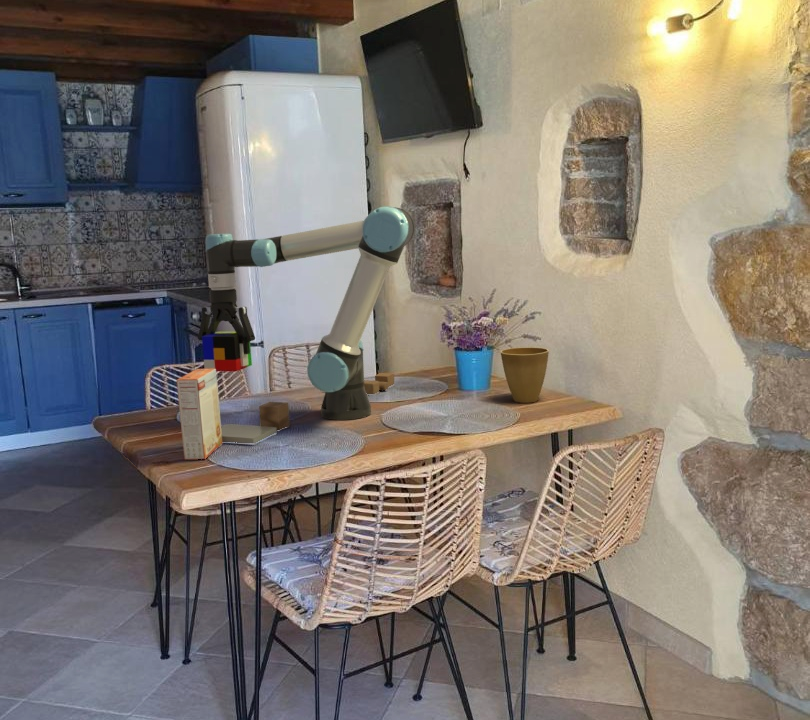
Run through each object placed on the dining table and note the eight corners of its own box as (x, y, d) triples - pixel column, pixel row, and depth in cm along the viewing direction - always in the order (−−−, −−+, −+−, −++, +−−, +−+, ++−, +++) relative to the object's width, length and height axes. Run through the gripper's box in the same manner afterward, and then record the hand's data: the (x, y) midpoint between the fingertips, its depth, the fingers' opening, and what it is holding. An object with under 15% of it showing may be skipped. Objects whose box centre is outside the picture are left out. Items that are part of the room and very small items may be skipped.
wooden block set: (375, 380, 269) (328, 378, 277) (376, 397, 270) (329, 394, 278) (396, 371, 285) (351, 369, 292) (397, 386, 286) (351, 384, 293)
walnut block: (289, 426, 234) (288, 402, 233) (279, 431, 229) (277, 407, 227) (271, 425, 236) (269, 401, 235) (260, 430, 231) (259, 406, 230)
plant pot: (547, 395, 263) (547, 346, 260) (550, 405, 248) (550, 353, 245) (500, 395, 264) (500, 347, 262) (501, 406, 250) (500, 354, 247)
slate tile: (276, 434, 226) (276, 427, 225) (253, 445, 214) (253, 438, 214) (227, 430, 231) (227, 423, 231) (202, 441, 220) (202, 434, 220)
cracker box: (201, 445, 217) (195, 368, 214) (223, 445, 216) (217, 367, 213) (182, 460, 203) (175, 378, 200) (205, 460, 203) (198, 378, 199)
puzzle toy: (204, 371, 232) (201, 336, 230) (220, 364, 242) (218, 331, 240) (236, 371, 230) (234, 336, 228) (251, 365, 239) (249, 331, 237)
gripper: (181, 289, 233) (187, 365, 236) (250, 289, 224) (255, 368, 228) (196, 287, 239) (202, 361, 243) (264, 287, 231) (269, 363, 235)
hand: (228, 364), depth 235 cm, fingers closed on puzzle toy, 10 cm apart
